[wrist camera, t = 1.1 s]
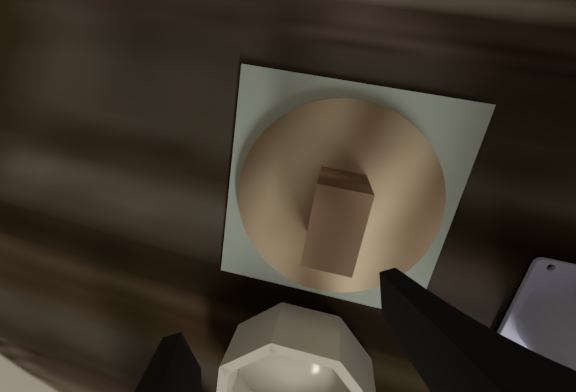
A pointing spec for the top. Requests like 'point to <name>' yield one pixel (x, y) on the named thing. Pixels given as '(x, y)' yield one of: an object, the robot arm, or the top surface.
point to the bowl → (295, 354)
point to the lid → (341, 194)
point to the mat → (309, 88)
